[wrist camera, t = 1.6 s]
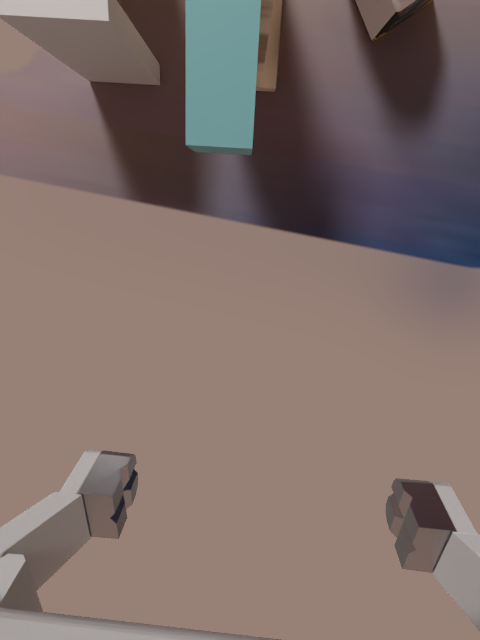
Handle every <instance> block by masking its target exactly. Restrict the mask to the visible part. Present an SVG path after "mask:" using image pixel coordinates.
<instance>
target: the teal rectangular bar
mask: <svg viewBox="0 0 480 640" xmlns="http://www.w3.org/2000/svg"><path fill="white" fill-rule="evenodd" d="M260 10H261V0H186V146H188V147H189V148H190V149H191V150H193V151H194V152H202V153H220V154H238V155H251V154H252V147H253V130H254V112H255V95H256V78H257V61H258V44H259V27H260Z"/></svg>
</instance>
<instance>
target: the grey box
mask: <svg viewBox="0 0 480 640" xmlns="http://www.w3.org/2000/svg"><path fill="white" fill-rule="evenodd" d="M0 18H1V19H3V20H4V21H5V22H7V23H8V24H10V25H11V26H12V27H14V28H15V29H17V30H18V31H19V32H21V33H22V34H24V35H25V36H27V37H28V38H29V39H31V40H32V41H34V42H35V43H36V44H38V45H39V46H41V47H42V48H43V49H45V50H46V51H48V52H49V53H50V54H52V55H53V56H55V57H56V58H57V59H59V60H60V61H62V62H63V63H65V64H66V65H67V66H69V67H70V68H72V69H73V70H74V71H76V72H77V73H79V74H80V75H81V76H83V77H84V78H86V79H87V80H88V81H93V82H111V83H128V84H146V85H160V64H159V63H158V61H157V60H156V58H155V57H154V55H153V54H152V52H151V51H150V49H149V48H148V46H147V45H146V43H145V42H144V40H143V39H142V37H141V36H140V34H139V33H138V31H137V30H136V28H135V27H134V25H133V24H132V22H131V21H130V19H129V18H128V16H127V15H126V13H125V12H124V10H123V9H122V7H121V6H120V4H119V3H118V1H117V0H0Z"/></svg>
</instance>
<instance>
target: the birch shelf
mask: <svg viewBox="0 0 480 640" xmlns="http://www.w3.org/2000/svg"><path fill="white" fill-rule="evenodd" d="M281 13H282V0H261V10H260V27H259V44H258V61H257V78H256V91H268V92H275V90H276V80H277V67H278V53H279V40H280V27H281Z"/></svg>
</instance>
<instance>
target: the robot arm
mask: <svg viewBox="0 0 480 640" xmlns="http://www.w3.org/2000/svg"><path fill="white" fill-rule="evenodd" d="M135 465H136V456H135V455H134V454H128V453H118V452H111V451H101V450H92V449H88V450H86V451H85V452H84V453H83V455H82V456H81V458H80V460H79V461H78V463H77V464H76V466H75V467H74V469H73V471H72V472H71V474H70V476H69V477H68V479H67V480H66V482H65V484H64V485H63V487H62V488H61V490H60V491H59V492H53V493H52V494H50V495H49V496H47V497H46V498H45V499H43V500H41V501H40V502H38V503H37V504H35V505H34V506H32V507H31V508H29V509H28V510H26V511H25V512H23V513H22V514H20V515H19V516H17V517H16V518H14V519H13V520H11V521H10V522H8V523H6V524H5V525H4V526H2V527H0V640H279V639H270V638H262V637H253V636H244V635H235V634H228V633H219V632H210V631H202V630H193V629H184V628H175V627H167V626H159V625H150V624H141V623H133V622H124V621H116V620H107V619H98V618H90V617H81V616H72V615H64V614H55V613H47V612H43V610H42V607H41V604H40V601H39V598H38V595H37V592H36V591H37V590H38V589H39V587H41V586H42V585H43V584H44V583H45V582H46V581H47V580H48V579H49V578H50V577H51V576H52V575H53V574H54V573H55V572H56V571H57V570H58V569H59V568H60V567H61V566H62V565H63V564H64V563H66V562H67V561H68V559H70V558H71V557H72V556H73V555H74V554H75V553H76V552H77V551H78V550H79V549H80V548H81V547H82V546H83V545H84V544H85V543H86V542H87V541H88V540H90V537H102V538H116V539H117V538H118V539H119V537H120V534H121V532H122V529H123V526H124V524H125V522H126V519H127V514H126V509H127V508H128V507H129V506H131V505H132V503H133V501H134V498H135V495H136V491H137V486H138V473H137V472H136V471H135V470H134V467H135ZM392 490H393V492H394V493H393V494H392V495H390V496H389V497H388V500H387V503H386V517H387V523H388V526H389V529H390V531H391V532H392V533H393V534H394V535H395V536H396V537H397V540H396V543H395V548H396V551H397V554H398V557H399V560H400V563H401V566H402V568H403V569H409V570H416V571H424V572H431V573H433V576H434V577H435V578H436V579H437V580H438V581H439V583H440V584H441V585H442V586H443V588H444V589H445V590H446V591H447V592H448V594H449V595H450V596H451V597H452V598H453V600H454V601H455V602H456V603H457V604H458V605H459V607H460V608H461V609H462V610H463V612H464V613H465V614H466V615H467V616H468V618H469V619H470V620H471V621H472V622H473V624H474V625H475V626H476V627H477V628H478V630H479V631H480V534H477V532H476V531H475V529H474V528H473V525H472V523H471V522H470V520H469V518H468V516H467V514H466V513H465V511H464V509H463V508H462V506H461V504H460V502H459V500H458V498H457V497H456V495H455V493H454V491H453V490H452V488H451V486H450V485H449V484H448V483H442V482H431V481H430V482H429V481H421V480H409V479H397V478H396V479H395V480H394V481H393V484H392Z"/></svg>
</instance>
